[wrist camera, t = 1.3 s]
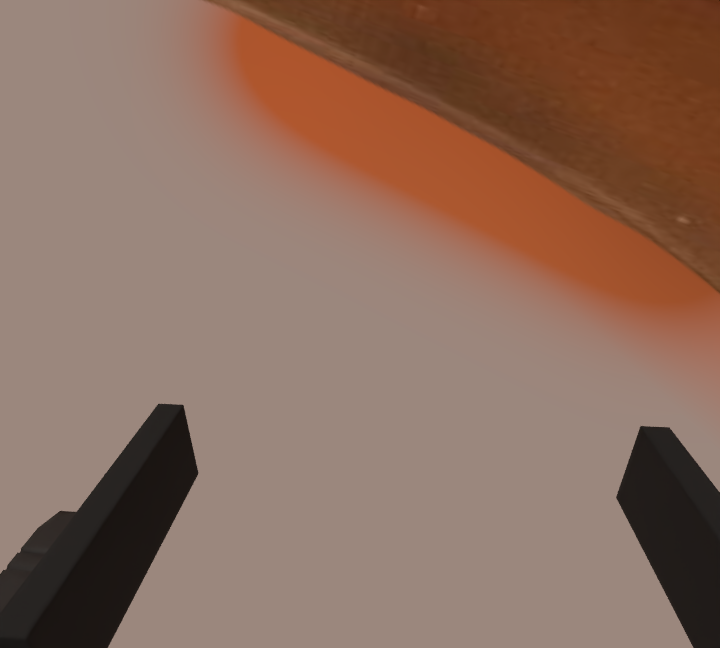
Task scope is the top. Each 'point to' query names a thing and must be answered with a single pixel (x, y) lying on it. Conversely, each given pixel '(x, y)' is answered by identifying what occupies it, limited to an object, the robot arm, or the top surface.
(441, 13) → the top surface
